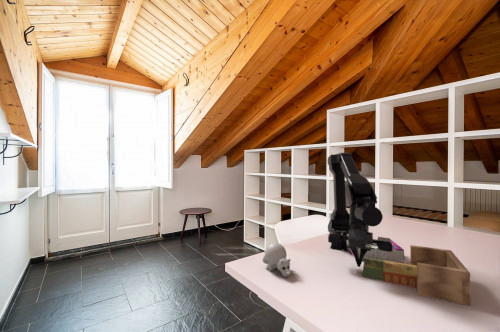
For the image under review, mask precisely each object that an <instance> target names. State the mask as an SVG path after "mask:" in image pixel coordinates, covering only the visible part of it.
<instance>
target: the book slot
mask: <svg viewBox="0 0 500 332" xmlns="http://www.w3.org/2000/svg"><path fill="white" fill-rule="evenodd" d="M409 246H410V248H409V249H410V250H409V253H410V264H411V265H417V288H416V293H417V295H418V296H423V297H428V298H433V299H438V300H442V301H447V302H451V303H456V304H461V305H465V306H469V307H471V271H469V270H468V268H466V266H465V265H464V264H463V263H462V261H460V259H459V258H458V257H457V255H455V253H454V252H453V251H452V250H450V249H444V248H436V247H428V246H420V245H414V244H413V245H412V244H410V245H409Z"/></svg>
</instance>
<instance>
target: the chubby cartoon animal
mask: <svg viewBox="0 0 500 332" xmlns="http://www.w3.org/2000/svg"><path fill="white" fill-rule="evenodd" d="M262 262H263V263H264V264H266V268H267V270H269V271H270V270H273V271H274V270H275V268H276V269H277V270H278V271H280V272H281V274H282V276H283V277H285V278H288V277H289V276H290V275H291V259H290V258H287V250H286V248H285V247H284V246H283V245H282V244H281V243H279V242H272V243H269V244H268V245H267V246H266V248H265V249H264V255H263V257H262Z"/></svg>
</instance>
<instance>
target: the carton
mask: <svg viewBox="0 0 500 332" xmlns="http://www.w3.org/2000/svg"><path fill="white" fill-rule="evenodd" d="M362 277H363V278H365V279H370V280H371V279H372V280H377V281H379V282H380V281H381V282H386V283H391V284H395V285H401V286H404V287H410V288H414V289H417V265H411V263H405V262H404V263H403V262H392V261H386V260H380V259H373V258H368V257H365V260H364V261H363V266H362Z"/></svg>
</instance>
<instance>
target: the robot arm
mask: <svg viewBox="0 0 500 332" xmlns="http://www.w3.org/2000/svg"><path fill="white" fill-rule="evenodd" d="M327 166H328V170H329V171H330V173H331V174H332V176H333V177H332V178H333V179H332V180H333V201H334V202H333V204H334V205H333V207H334V209H333V210H332V212H331V214H330V219H329V221H328V225H327V231H328V233H329V234H328V235H327V237H328V238H327V241H328V243H330V247H329V248H330V249H334V250H341V251H348V249H349V248H350V249H351V251H352V253H353V254H352V253H351V254H352V256H353V255H354V256H353V257H354V260H355V262H356V266H357V267H358V268H361V266H362V262H363V257H364V255H365V253H366V252H367V251H371V247H372V245H374V246H377V247H378V248H379V249H380V250H382V251H388V252H392V241H393V239H391V238H389V237H383V236H377V239H376V238H374V236H373V235H374V233H373V232H370V231H369V229H370V227H378V225H380V224H381V223H382V221H383V218H384V216H383V213H382V211H381V210H380V209H379V208H378V207H376V204H377V203H378V201H377V200H378V196H377V194H376V192H375V190H374V189H373V186H372V184H371V183H370V181H369V180H368V178H366V177H364V176H363V175H361V174H360V173H361V172H360V171H359V169H358V167H357V165H356V163H355V161H354V159H353V154H352V153H350V152H339V153H335V154H330V155H329V156H328V157H327ZM346 198H347V199H346ZM347 200H348V203H349V212H348V210H347ZM375 239H376V240H375ZM358 248H360V257H359V252H358ZM351 251H350V252H351Z"/></svg>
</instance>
